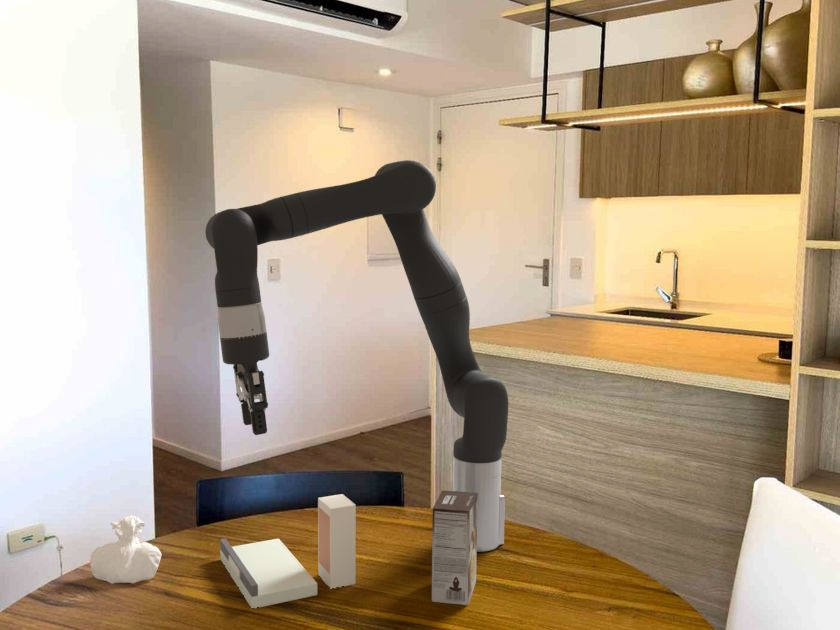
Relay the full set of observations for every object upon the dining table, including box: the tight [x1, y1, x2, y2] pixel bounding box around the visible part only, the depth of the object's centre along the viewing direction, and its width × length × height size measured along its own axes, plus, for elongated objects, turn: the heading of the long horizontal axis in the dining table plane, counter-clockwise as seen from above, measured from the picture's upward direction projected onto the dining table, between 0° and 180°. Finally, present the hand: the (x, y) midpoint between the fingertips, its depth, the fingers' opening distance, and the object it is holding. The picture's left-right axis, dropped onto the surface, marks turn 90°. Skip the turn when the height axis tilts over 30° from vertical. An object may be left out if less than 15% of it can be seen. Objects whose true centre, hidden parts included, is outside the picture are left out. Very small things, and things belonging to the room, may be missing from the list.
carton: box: [317, 493, 357, 590], centre depth 136 cm, size 4×6×14 cm
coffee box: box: [431, 490, 478, 606], centre depth 131 cm, size 9×6×16 cm
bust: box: [89, 514, 162, 585], centre depth 137 cm, size 12×8×11 cm
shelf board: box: [219, 538, 318, 609], centre depth 137 cm, size 11×21×4 cm, turn 27°
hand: (255, 428), depth 131 cm, fingers open, 8 cm apart
